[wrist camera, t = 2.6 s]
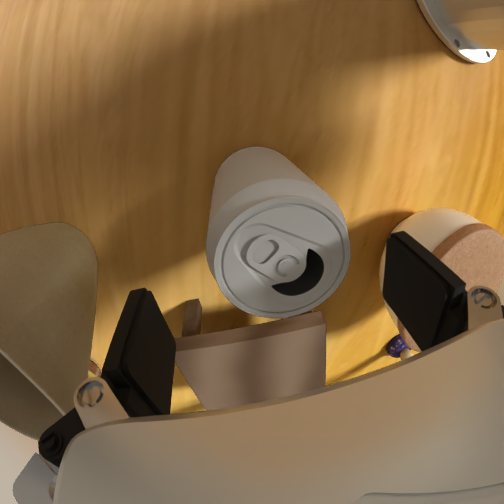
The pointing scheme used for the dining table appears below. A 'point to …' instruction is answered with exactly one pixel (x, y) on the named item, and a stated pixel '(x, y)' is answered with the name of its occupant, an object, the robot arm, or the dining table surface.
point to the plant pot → (44, 323)
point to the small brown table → (252, 359)
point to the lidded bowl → (453, 250)
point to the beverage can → (274, 236)
